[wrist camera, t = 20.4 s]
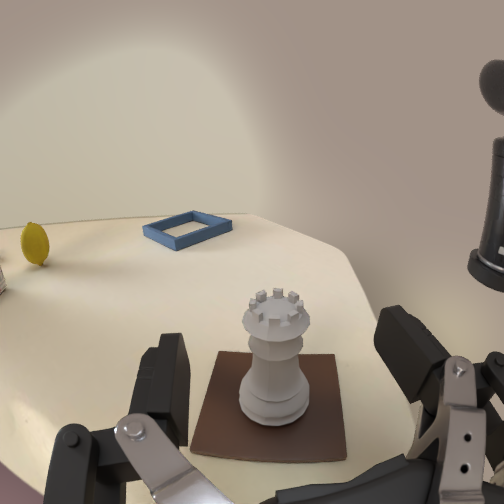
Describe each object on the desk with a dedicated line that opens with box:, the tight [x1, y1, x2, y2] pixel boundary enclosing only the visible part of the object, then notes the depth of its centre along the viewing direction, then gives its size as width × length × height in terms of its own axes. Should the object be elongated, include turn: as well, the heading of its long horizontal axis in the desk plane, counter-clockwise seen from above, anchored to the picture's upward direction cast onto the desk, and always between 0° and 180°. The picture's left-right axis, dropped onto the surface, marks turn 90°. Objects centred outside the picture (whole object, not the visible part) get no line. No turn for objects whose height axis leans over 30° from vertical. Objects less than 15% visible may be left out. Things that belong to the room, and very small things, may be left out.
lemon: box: [21, 222, 49, 266], centre depth 36 cm, size 6×6×8 cm
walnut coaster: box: [190, 351, 347, 462], centre depth 16 cm, size 9×9×1 cm
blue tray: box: [142, 211, 232, 251], centre depth 47 cm, size 12×12×2 cm
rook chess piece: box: [239, 288, 310, 426], centre depth 14 cm, size 4×4×8 cm
